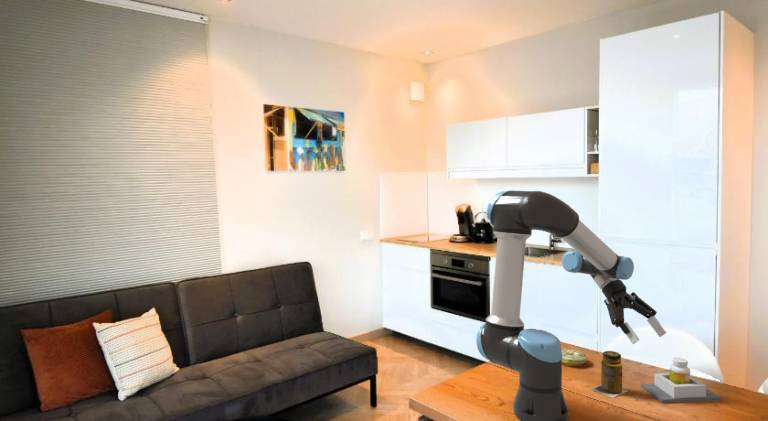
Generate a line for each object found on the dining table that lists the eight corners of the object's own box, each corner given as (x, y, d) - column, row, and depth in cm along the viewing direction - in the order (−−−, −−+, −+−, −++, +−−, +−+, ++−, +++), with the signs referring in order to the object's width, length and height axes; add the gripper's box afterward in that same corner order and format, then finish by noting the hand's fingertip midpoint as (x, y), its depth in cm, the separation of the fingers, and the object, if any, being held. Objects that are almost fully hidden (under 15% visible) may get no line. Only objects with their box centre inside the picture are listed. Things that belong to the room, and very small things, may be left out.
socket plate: (661, 402, 143) (661, 388, 143) (640, 387, 154) (640, 373, 154) (720, 400, 144) (720, 385, 143) (695, 384, 154) (695, 371, 154)
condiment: (628, 391, 151) (628, 354, 151) (612, 398, 147) (613, 360, 146) (606, 383, 157) (606, 347, 157) (591, 390, 153) (591, 353, 152)
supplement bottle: (665, 388, 150) (665, 358, 149) (676, 385, 152) (676, 355, 152) (682, 395, 145) (683, 364, 145) (693, 391, 148) (694, 360, 147)
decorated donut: (593, 363, 175) (593, 353, 174) (575, 370, 169) (575, 360, 169) (568, 355, 183) (568, 345, 183) (550, 361, 178) (550, 351, 177)
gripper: (627, 286, 177) (666, 337, 165) (579, 295, 166) (616, 350, 154) (640, 274, 172) (681, 326, 160) (591, 282, 161) (632, 339, 148)
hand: (650, 338), depth 157 cm, fingers open, 13 cm apart
